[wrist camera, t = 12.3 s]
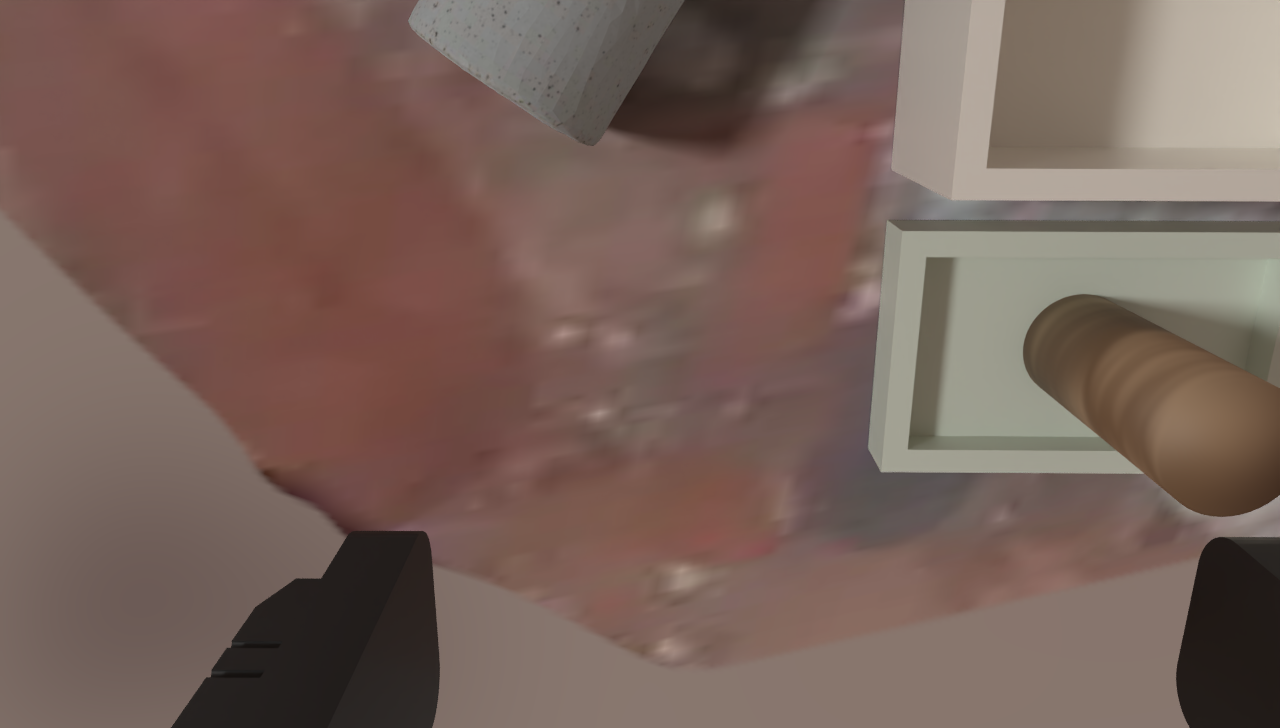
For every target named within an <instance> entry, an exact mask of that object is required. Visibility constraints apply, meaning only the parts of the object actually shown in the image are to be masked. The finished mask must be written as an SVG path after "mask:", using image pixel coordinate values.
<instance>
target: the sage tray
mask: <svg viewBox="0 0 1280 728" xmlns="http://www.w3.org/2000/svg"><path fill="white" fill-rule="evenodd" d="M1077 294H1091V295H1096V296H1100V297H1103V298H1105V299H1107V300H1109V301H1111V302H1113V303H1115V304H1117V305H1119V306H1121V307H1123V308H1125V309H1127V310H1129V311H1131V312H1133V313H1135V314H1137V315H1138V316H1140V317H1142V318H1144V319H1146V320H1148V321H1150V322H1152V323H1154V324H1156V325H1158V326H1160V327H1162V328H1164V329H1166V330H1168V331H1170V332H1171V333H1173V334H1175V335H1177V336H1179V337H1181V338H1183V339H1185V340H1187V341H1189V342H1191V343H1193V344H1195V345H1197V346H1199V347H1201V348H1202V349H1204V350H1206V351H1208V352H1210V353H1212V354H1214V355H1216V356H1218V357H1220V358H1222V359H1224V360H1226V361H1228V362H1230V363H1232V364H1234V365H1235V366H1237V367H1239V368H1241V369H1243V370H1245V371H1247V372H1249V373H1251V374H1253V375H1255V376H1257V377H1259V378H1261V379H1263V380H1265V381H1267V382H1268V383H1270V384H1272V385H1274V386H1276V387H1278V388H1280V221H1024V220H887V226H886V238H885V250H884V262H883V274H882V286H881V298H880V310H879V322H878V334H877V346H876V358H875V370H874V382H873V394H872V406H871V418H870V430H869V442H868V449H869V451H870V453H871V454H872V456H873V458H874V460H875V462H876V464H877V465H878V467H879V469H880V471H881V472H963V473H1134V474H1144V473H1143V472H1142V471H1141V470H1139V469H1138V468H1137V467H1136V466H1135V465H1133V464H1132V463H1131V462H1130V461H1129V460H1127V459H1126V458H1125V457H1124V456H1122V455H1121V454H1120V453H1119V452H1118V451H1116V450H1115V449H1114V448H1113V447H1112V446H1110V445H1109V444H1108V443H1107V442H1105V441H1104V440H1103V439H1102V438H1101V437H1099V436H1098V435H1097V434H1096V433H1095V432H1093V431H1092V430H1091V429H1090V428H1088V427H1087V426H1086V425H1085V424H1084V423H1082V422H1081V421H1080V420H1079V419H1078V418H1076V417H1075V416H1074V415H1073V414H1071V413H1070V412H1069V411H1068V410H1067V409H1065V408H1064V407H1063V406H1062V405H1061V404H1059V403H1058V402H1057V401H1056V400H1054V399H1053V398H1052V397H1051V396H1050V395H1048V394H1047V393H1046V392H1045V391H1044V390H1042V389H1041V388H1040V387H1039V386H1038V385H1037V384H1035V383H1034V381H1033V380H1032V379H1031V378H1030V376H1029V374H1028V373H1027V370H1026V368H1025V365H1024V360H1023V345H1024V340H1025V337H1026V334H1027V331H1028V329H1029V327H1030V325H1031V324H1032V322H1033V321H1034V319H1035V318H1036V317H1037V316H1038V315H1039V314H1040V313H1041V312H1042V311H1043V310H1044V309H1045V308H1046V307H1048V306H1049V305H1051V304H1052V303H1054V302H1056V301H1058V300H1060V299H1062V298H1065V297H1068V296H1072V295H1077Z"/></svg>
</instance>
